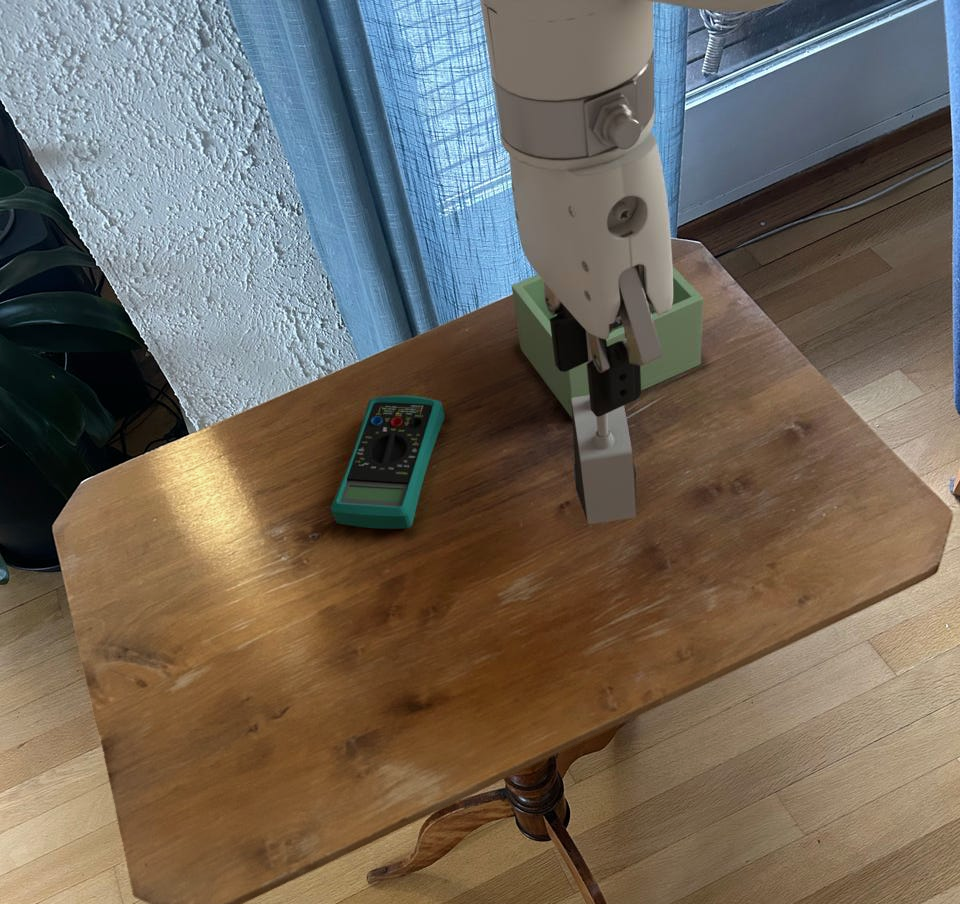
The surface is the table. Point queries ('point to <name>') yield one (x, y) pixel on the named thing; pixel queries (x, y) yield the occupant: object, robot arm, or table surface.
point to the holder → (673, 329)
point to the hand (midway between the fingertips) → (597, 380)
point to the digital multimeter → (388, 462)
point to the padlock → (603, 461)
